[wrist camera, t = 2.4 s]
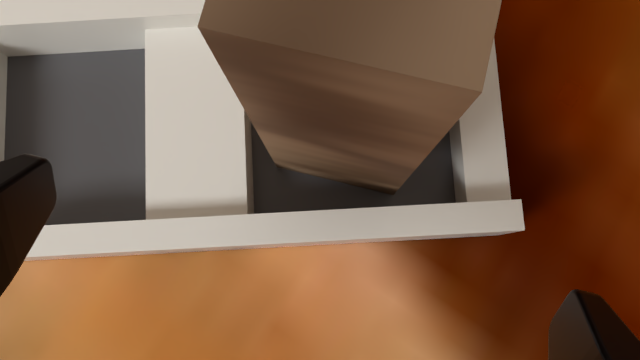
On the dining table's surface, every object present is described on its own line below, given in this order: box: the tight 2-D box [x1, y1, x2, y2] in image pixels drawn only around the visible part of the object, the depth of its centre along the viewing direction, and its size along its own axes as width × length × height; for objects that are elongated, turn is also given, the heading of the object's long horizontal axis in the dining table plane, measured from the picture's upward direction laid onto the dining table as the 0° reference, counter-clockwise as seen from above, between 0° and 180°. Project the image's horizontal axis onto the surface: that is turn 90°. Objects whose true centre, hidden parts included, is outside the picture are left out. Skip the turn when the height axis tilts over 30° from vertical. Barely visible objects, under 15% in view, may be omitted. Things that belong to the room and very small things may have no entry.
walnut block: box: [197, 0, 502, 195], centre depth 15 cm, size 4×4×12 cm
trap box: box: [0, 0, 525, 261], centre depth 20 cm, size 26×9×3 cm, turn 93°
